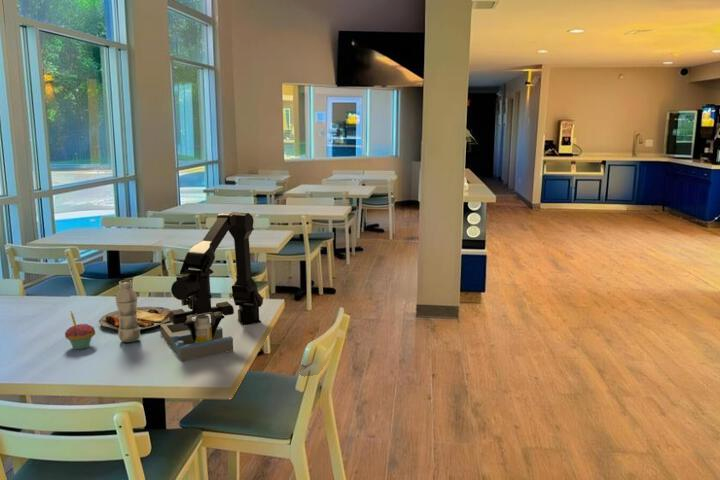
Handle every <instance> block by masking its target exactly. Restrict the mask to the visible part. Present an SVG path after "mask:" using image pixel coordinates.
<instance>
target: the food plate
mask: <svg viewBox="0 0 720 480" xmlns="http://www.w3.org/2000/svg"><path fill="white" fill-rule="evenodd" d="M170 311H172V309H170V308H168V307H160V306H137V320H138V326H139V328H140V331H141V330H145V329H150V328H153V327H157V326H159V325H161V324H166V323H169V322H171V320H170V319H169V313H170ZM98 322H99V324H100V326H102V327H105V328H109V329H113V330H115V331H117V332H118V331H119V314H118V310H115V311H111V312H108V313H106V314H104V315H103V316H101V318H100V319H99V320H98Z"/></svg>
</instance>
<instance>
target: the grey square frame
mask: <svg viewBox="0 0 720 480" xmlns="http://www.w3.org/2000/svg"><path fill="white" fill-rule="evenodd" d="M192 321H193V322H194V325H195V324H196V318H192ZM209 322H210V323H211V319H209ZM160 335H161V337H162V338H163V339H164V341H165V342H166V344H168V346H169V347H170V348H171V350H172V351H173V352H174V353H175V356H177V358H178V359H179V360H180V361H181V362H185V361H189V360H190V361H191V360H194V359H199V358H205V357H210V356H213V355H214V356H215V355H219V354H224V353H229V352H233V351H234V338H233V337H232V335H231V336H225V337H224V335H223V328H222V327H221V326H218V327H217V329H216V332H215V334H214V337H212V340H208V341H203V342H198V343H195V341H194V340H193V338H192V336H191V333H190V331H189V329H188V327H187V325H184V324H183V323H180V324H173V323H172V322H166V323H163V324H161V325H160Z"/></svg>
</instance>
